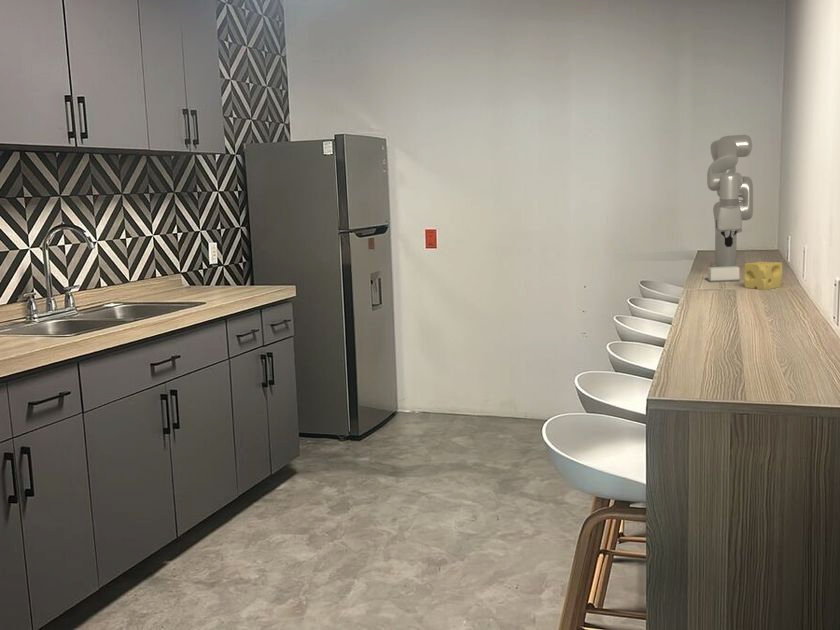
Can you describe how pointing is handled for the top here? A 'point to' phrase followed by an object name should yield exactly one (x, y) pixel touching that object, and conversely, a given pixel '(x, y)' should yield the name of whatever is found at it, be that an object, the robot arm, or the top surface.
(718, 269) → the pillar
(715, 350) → the top surface
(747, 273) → the cheese
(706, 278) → the mat
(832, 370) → the top surface
